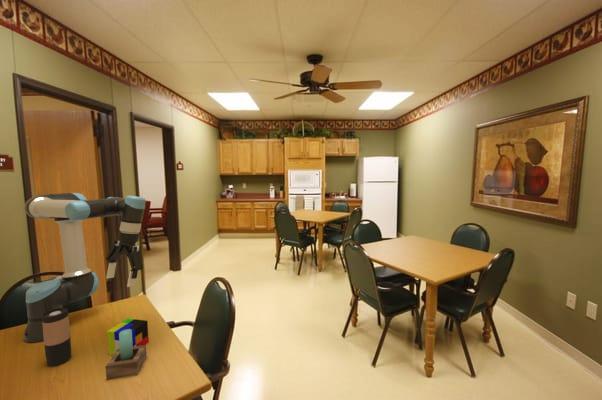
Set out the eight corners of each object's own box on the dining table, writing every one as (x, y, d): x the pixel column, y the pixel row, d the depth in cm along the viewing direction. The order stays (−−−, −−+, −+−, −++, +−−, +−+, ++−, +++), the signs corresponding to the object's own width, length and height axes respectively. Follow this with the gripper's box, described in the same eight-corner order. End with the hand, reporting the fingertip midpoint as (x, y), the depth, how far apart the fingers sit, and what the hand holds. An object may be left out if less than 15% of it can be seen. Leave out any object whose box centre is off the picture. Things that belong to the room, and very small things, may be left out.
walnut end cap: (118, 361, 105) (117, 348, 104) (146, 356, 107) (146, 345, 106) (106, 379, 95) (105, 366, 94) (137, 374, 97) (136, 361, 97)
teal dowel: (123, 359, 102) (121, 330, 101) (135, 358, 103) (133, 328, 102) (119, 367, 98) (116, 336, 97) (131, 365, 99) (129, 334, 98)
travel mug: (42, 370, 100) (37, 319, 98) (50, 358, 107) (45, 310, 105) (68, 363, 104) (64, 314, 102) (74, 352, 110) (70, 305, 109)
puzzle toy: (129, 357, 107) (128, 333, 106) (108, 354, 109) (107, 331, 108) (148, 342, 116) (147, 320, 116) (129, 340, 118) (127, 318, 118)
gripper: (157, 237, 112) (148, 287, 111) (119, 227, 122) (110, 273, 121) (141, 237, 105) (131, 291, 104) (102, 226, 115) (92, 275, 114)
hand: (120, 281), depth 113 cm, fingers open, 13 cm apart
